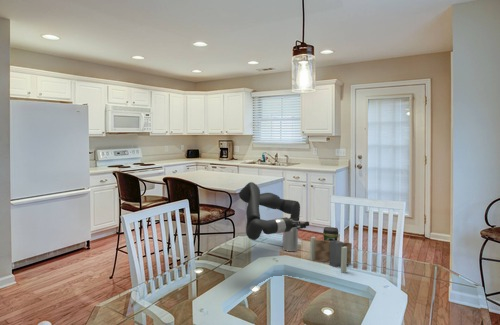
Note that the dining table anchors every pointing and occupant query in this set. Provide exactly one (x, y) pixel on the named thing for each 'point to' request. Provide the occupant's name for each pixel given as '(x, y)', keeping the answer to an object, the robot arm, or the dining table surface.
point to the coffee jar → (330, 233)
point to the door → (324, 250)
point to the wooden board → (343, 255)
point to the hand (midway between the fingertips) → (303, 222)
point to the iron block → (335, 253)
